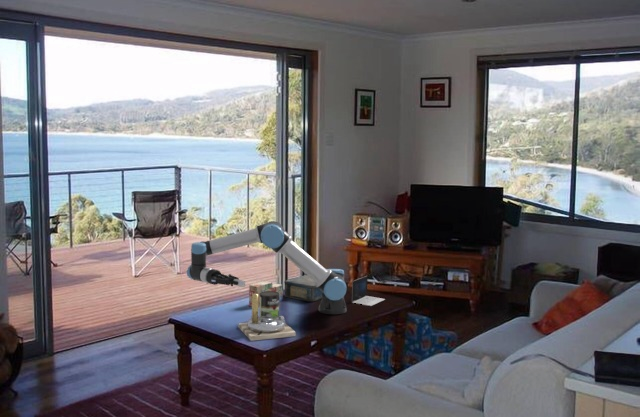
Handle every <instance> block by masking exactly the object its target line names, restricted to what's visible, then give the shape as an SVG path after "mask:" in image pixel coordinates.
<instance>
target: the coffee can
mask: <svg viewBox="0 0 640 417" xmlns="http://www.w3.org/2000/svg"><path fill="white" fill-rule="evenodd" d="M259 295H260V301H259V308H258V317H259V316H266V314H267V313H272V316H275V317H279V316H280V301H279V293H278V292H273V291H265V292H261V293H259Z"/></svg>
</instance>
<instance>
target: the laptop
mask: <svg viewBox="0 0 640 417" xmlns="http://www.w3.org/2000/svg"><path fill="white" fill-rule="evenodd" d="M351 282H352V284H351V287H352V288H351V304H354V303H356V304H357V305H360V304H362V305H361V306H368V307H372V306H374V305H376V304H378V303H381V302H383V301H385V300H386V299H385V298H382V297H381V298H380V297H376V296H375V297H374V296H369V295H368V275H364V276H362V277H360V278H357V279H355V280H353V281H351Z"/></svg>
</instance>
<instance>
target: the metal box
mask: <svg viewBox="0 0 640 417" xmlns="http://www.w3.org/2000/svg"><path fill="white" fill-rule="evenodd" d="M283 283H284V297H285V298H290V299H294V300H300V301H306V302H316V301H319V300H321V299H322V291H321V290H320V289H319V288H318V287H317V286H316V282H315V281H314V280H313V279H311V278H310V277H309V276H308V275H307V274H304V275H301V276H298V277H294V278H291V279H287V280H284V282H283Z"/></svg>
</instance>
